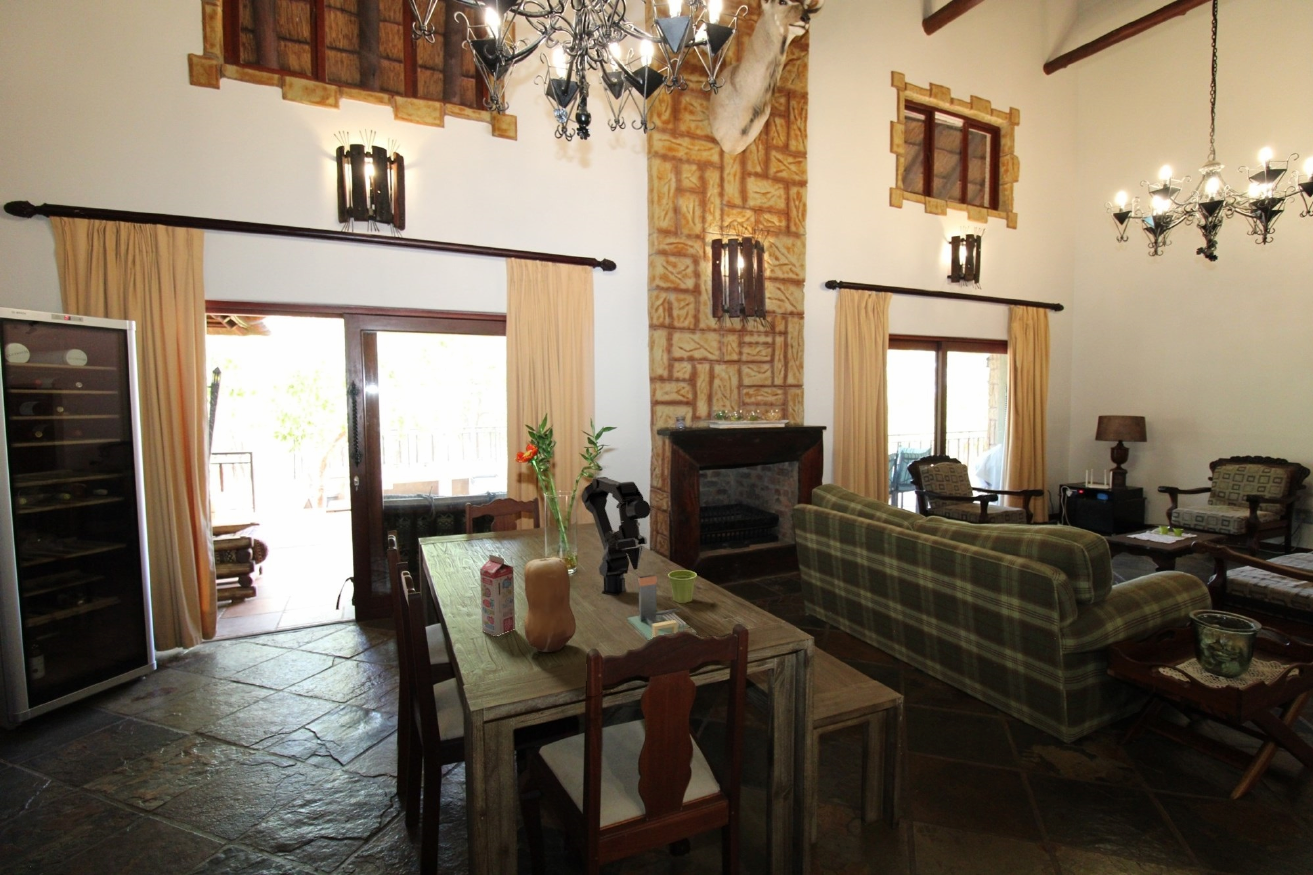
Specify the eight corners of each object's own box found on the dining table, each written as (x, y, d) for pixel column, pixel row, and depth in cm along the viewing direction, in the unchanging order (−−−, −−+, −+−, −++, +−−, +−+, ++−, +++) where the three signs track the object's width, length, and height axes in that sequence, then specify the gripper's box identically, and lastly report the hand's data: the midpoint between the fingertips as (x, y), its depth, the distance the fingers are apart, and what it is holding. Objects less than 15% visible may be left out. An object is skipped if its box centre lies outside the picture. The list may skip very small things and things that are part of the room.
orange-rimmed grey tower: (638, 619, 181) (638, 576, 180) (678, 612, 186) (678, 571, 185) (648, 628, 174) (648, 584, 173) (689, 621, 180) (689, 578, 178)
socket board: (627, 620, 183) (627, 606, 183) (669, 612, 189) (669, 599, 189) (650, 643, 167) (650, 628, 167) (696, 634, 172) (696, 619, 172)
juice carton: (501, 624, 181) (498, 552, 179) (515, 629, 177) (512, 555, 175) (482, 631, 176) (479, 557, 174) (496, 637, 172) (493, 561, 170)
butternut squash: (543, 636, 172) (541, 549, 170) (585, 643, 167) (583, 554, 165) (514, 656, 160) (511, 563, 157) (558, 664, 154) (555, 568, 152)
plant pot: (694, 606, 195) (694, 579, 194) (665, 604, 197) (665, 578, 196) (698, 596, 204) (698, 570, 203) (671, 594, 206) (670, 569, 205)
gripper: (612, 523, 207) (618, 569, 205) (597, 524, 189) (603, 575, 187) (644, 518, 205) (650, 565, 203) (632, 519, 187) (638, 571, 185)
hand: (635, 569), depth 195 cm, fingers closed
